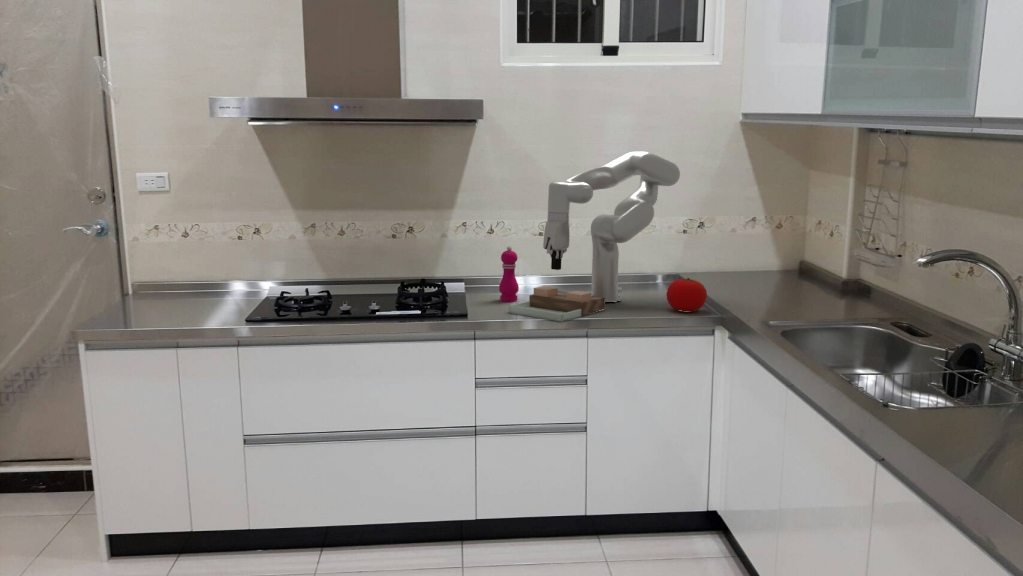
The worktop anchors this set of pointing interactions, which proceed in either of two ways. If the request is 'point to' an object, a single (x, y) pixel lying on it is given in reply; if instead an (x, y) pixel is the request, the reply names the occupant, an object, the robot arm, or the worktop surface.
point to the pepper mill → (508, 277)
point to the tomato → (686, 295)
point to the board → (567, 303)
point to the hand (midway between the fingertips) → (556, 269)
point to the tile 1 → (545, 291)
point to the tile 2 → (579, 296)
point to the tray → (542, 312)
